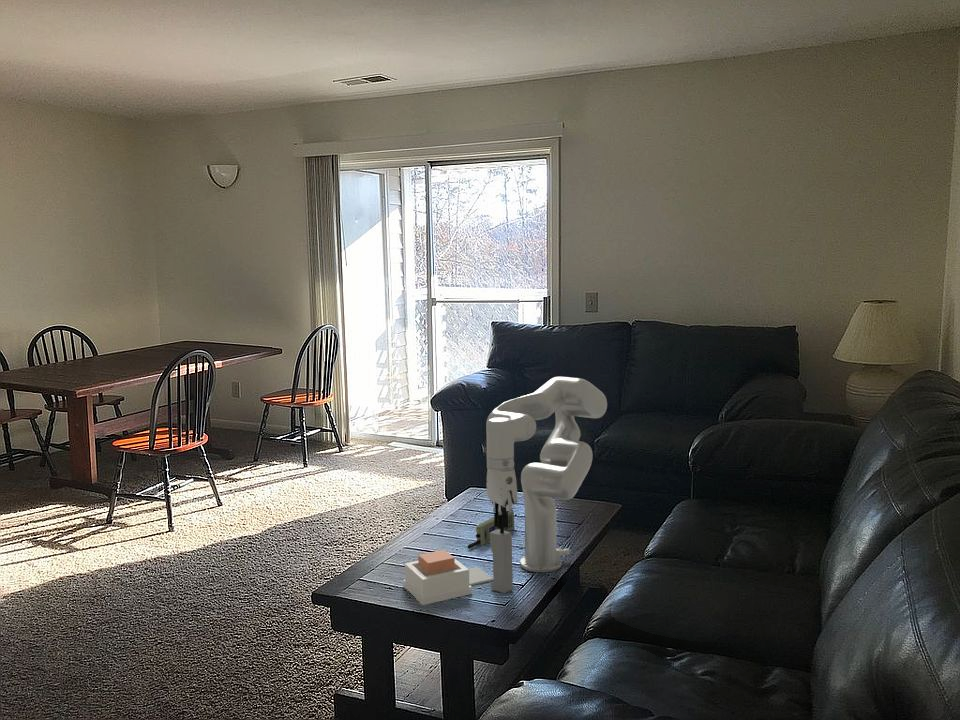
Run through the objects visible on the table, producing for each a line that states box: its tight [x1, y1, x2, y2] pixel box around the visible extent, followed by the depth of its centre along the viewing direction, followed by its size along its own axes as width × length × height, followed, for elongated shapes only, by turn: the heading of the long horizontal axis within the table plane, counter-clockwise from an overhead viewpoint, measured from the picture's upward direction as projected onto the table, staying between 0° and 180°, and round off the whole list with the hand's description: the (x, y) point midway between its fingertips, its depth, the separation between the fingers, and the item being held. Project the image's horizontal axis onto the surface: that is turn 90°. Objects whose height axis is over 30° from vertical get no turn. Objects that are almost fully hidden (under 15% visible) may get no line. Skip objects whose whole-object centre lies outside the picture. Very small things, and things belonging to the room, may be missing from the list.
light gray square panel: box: [468, 566, 493, 587], centre depth 235 cm, size 10×10×1 cm
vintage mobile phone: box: [489, 528, 514, 594], centre depth 225 cm, size 4×5×25 cm
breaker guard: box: [402, 558, 473, 606], centre depth 226 cm, size 15×14×7 cm
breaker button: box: [417, 549, 456, 574], centre depth 226 cm, size 8×7×3 cm
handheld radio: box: [467, 509, 515, 550], centre depth 266 cm, size 7×3×25 cm
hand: (501, 526), depth 224 cm, fingers closed on vintage mobile phone, 1 cm apart
